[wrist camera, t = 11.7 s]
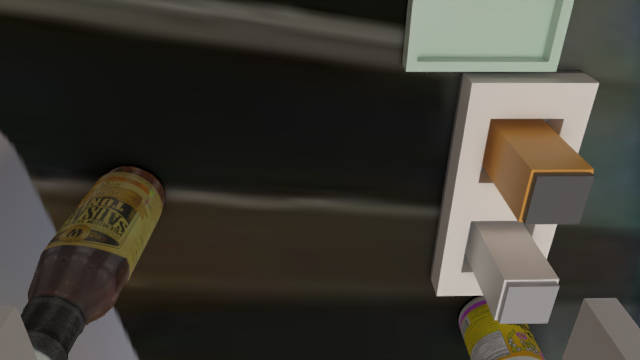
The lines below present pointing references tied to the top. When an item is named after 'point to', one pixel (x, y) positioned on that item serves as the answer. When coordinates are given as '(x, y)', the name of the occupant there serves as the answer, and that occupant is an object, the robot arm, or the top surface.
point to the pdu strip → (468, 150)
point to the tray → (485, 35)
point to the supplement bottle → (495, 335)
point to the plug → (536, 171)
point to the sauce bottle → (91, 259)
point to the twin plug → (511, 272)
